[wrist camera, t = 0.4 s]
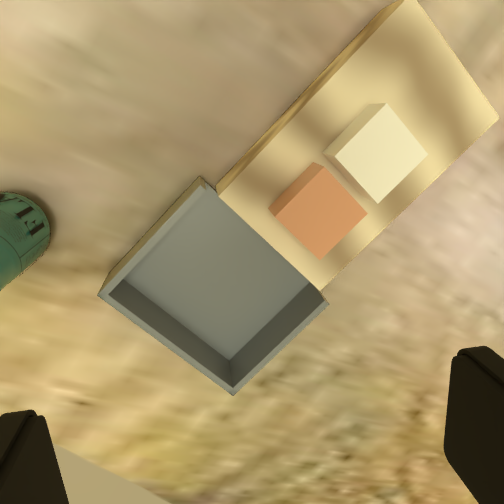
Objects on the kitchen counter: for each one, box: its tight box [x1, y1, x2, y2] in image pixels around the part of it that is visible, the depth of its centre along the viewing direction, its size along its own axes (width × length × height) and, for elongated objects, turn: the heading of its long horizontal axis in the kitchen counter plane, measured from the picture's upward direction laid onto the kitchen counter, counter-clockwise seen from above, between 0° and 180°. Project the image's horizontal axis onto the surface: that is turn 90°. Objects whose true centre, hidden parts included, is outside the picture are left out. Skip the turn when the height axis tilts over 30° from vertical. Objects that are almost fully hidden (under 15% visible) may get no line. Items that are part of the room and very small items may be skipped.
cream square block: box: [322, 103, 428, 204], centre depth 31 cm, size 5×5×3 cm
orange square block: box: [268, 162, 368, 260], centre depth 32 cm, size 5×5×3 cm
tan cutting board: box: [215, 0, 500, 291], centre depth 35 cm, size 20×12×5 cm, turn 135°
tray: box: [97, 176, 329, 396], centre depth 37 cm, size 12×15×5 cm
